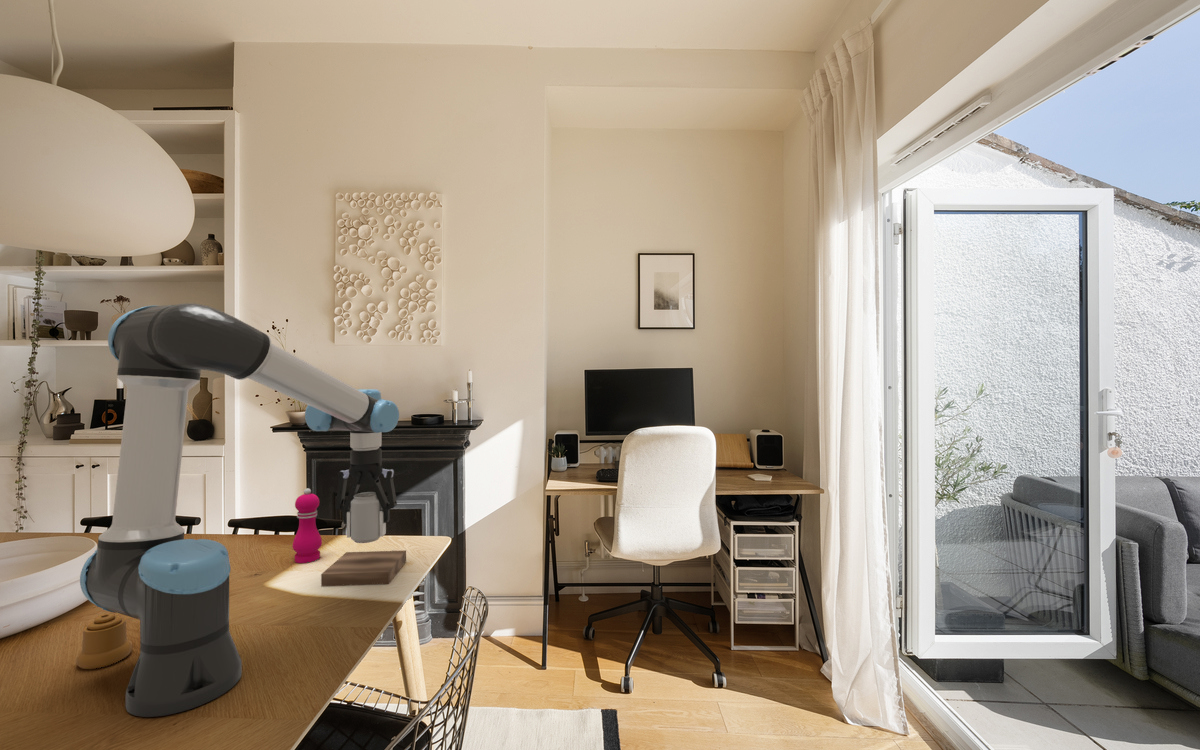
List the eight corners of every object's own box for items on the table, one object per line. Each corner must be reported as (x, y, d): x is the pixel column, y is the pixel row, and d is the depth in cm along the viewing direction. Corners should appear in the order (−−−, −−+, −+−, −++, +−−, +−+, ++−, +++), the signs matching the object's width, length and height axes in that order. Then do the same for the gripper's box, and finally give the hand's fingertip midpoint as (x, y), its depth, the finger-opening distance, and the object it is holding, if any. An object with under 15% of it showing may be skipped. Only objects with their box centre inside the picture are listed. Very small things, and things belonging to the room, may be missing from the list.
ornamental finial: (142, 648, 101) (110, 670, 93) (100, 650, 100) (63, 672, 93) (142, 606, 101) (109, 624, 93) (100, 608, 100) (63, 626, 93)
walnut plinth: (388, 583, 131) (388, 571, 131) (321, 586, 130) (321, 574, 130) (406, 561, 147) (406, 550, 147) (346, 563, 146) (346, 552, 146)
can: (370, 545, 134) (370, 497, 134) (344, 543, 136) (344, 496, 136) (388, 536, 142) (387, 491, 142) (363, 534, 143) (362, 490, 143)
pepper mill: (325, 559, 149) (325, 488, 149) (297, 566, 144) (297, 492, 144) (316, 553, 154) (316, 484, 154) (288, 559, 149) (288, 488, 149)
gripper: (409, 445, 143) (410, 530, 143) (331, 446, 141) (332, 532, 142) (402, 449, 136) (402, 538, 136) (319, 451, 134) (319, 541, 134)
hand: (366, 535), depth 139 cm, fingers closed on can, 7 cm apart
